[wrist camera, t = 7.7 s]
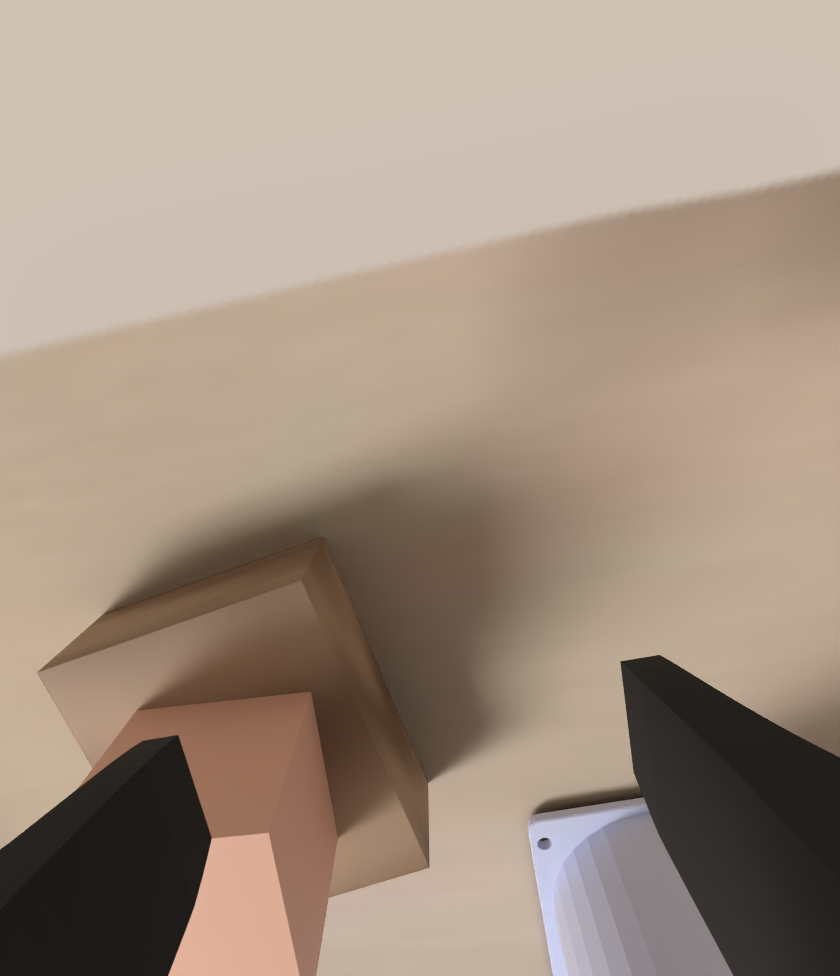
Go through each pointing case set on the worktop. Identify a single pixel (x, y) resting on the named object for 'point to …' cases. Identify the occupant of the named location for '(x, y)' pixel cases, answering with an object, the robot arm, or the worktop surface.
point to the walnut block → (264, 690)
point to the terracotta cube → (252, 831)
